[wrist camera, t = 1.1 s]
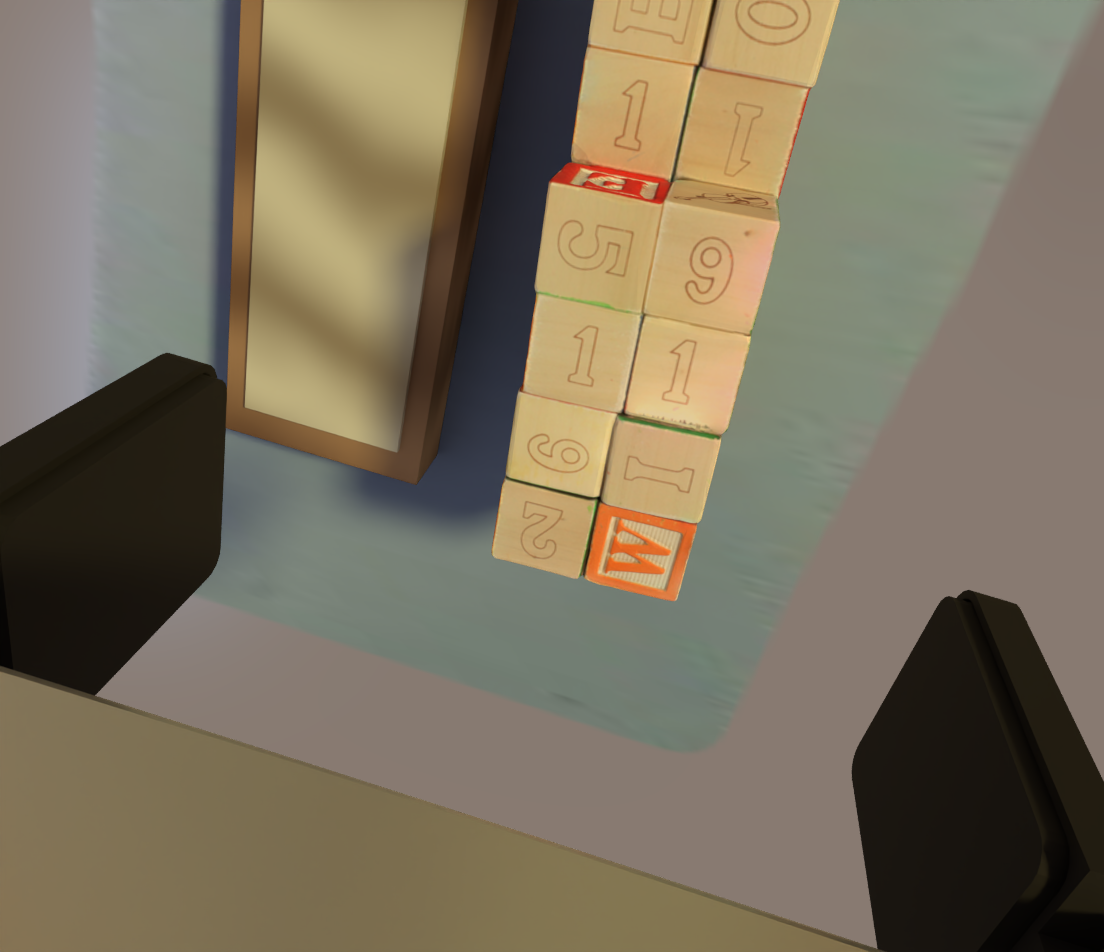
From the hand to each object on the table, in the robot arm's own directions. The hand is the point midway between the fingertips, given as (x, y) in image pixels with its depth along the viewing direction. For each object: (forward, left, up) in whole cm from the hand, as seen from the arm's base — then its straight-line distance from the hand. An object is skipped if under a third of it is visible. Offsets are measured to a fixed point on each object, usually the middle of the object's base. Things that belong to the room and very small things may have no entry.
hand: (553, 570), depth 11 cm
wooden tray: (+1, -12, -26) cm, 28 cm away
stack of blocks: (-1, 0, -26) cm, 26 cm away
